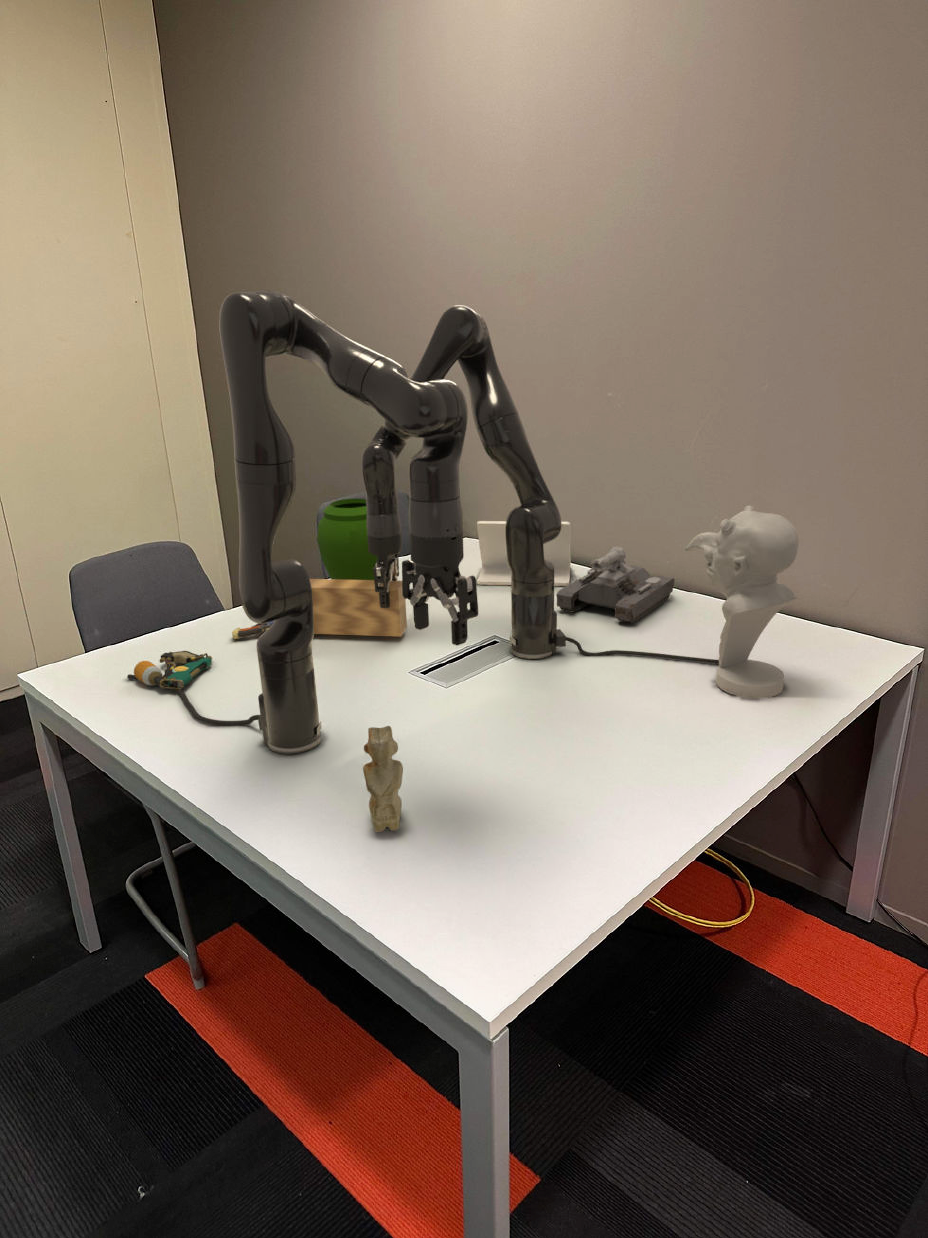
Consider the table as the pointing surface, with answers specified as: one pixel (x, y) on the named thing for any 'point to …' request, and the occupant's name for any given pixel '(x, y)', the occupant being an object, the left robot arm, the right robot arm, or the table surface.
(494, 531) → the tablet stand
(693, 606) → the table surface
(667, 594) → the toy
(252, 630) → the toy gun
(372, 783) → the sculpture
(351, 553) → the vase
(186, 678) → the spray gun
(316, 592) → the box
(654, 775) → the table surface
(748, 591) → the bust sculpture
